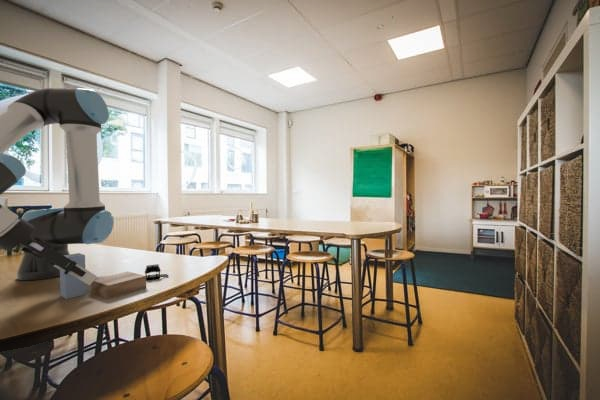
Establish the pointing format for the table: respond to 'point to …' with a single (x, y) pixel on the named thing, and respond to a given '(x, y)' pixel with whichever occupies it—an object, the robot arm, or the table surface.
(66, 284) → the tower block
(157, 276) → the black piece
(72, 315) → the table surface
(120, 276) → the base block
